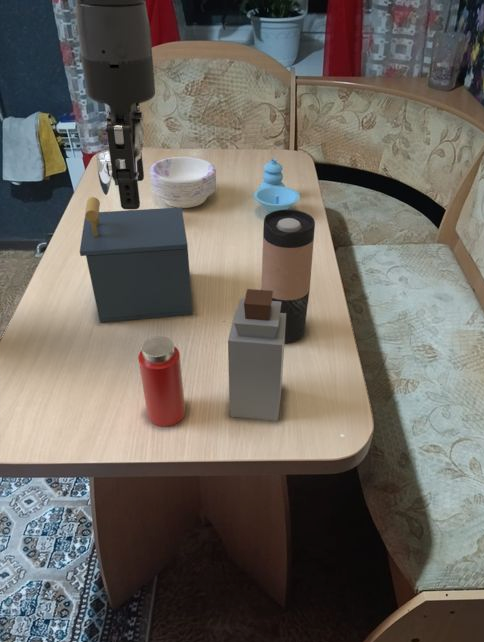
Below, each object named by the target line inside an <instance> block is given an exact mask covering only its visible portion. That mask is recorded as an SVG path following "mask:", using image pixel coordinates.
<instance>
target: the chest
mask: <svg viewBox="0 0 484 642" xmlns="http://www.w3.org/2000/svg"><path fill="white" fill-rule="evenodd" d="M85 257H86V263H87V267H88V272H89V277H90V282H91V286H92V291H93V296H94V301H95V305H96V310H97V311H96V312H97V316H98V319H99V323H100V324H102V323H103V324H105V323H114V322H125V321H137V320H147V319H158V318H159V319H160V318H168V317H181V316H192V315H193V300H192V299H193V298H192V287H191V274H190V260H189V248H188V249H174V250H160V251H146V252H131V253H117V254H103V255H89V256H85Z"/></svg>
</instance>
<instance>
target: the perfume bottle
mask: <svg viewBox="0 0 484 642" xmlns="http://www.w3.org/2000/svg"><path fill="white" fill-rule="evenodd" d="M272 295H273V291H267V290H261V289H254V288H252V289H251V288H247V289H246V293H245V296H244V298H239V301H238V304H237V308H236V309H235V311H234V314H233V318H232V322H231V326H230V331H229V335H228V338H227V362H228V396H229V397H228V400H229V401H228V403H229V417H231V418H239V419H240V418H241V419H251V420H261V421H274V422H275V421H276V422H278V421H279V418H280V417H279V416H280V409H281V398H282V391H283V389H282V388H283V377H284V376H283V374H284V359H285V356H284V355H285V344H286V343H285V326H286V313H280V309H281V302H279V301H272Z"/></svg>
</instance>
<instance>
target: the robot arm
mask: <svg viewBox="0 0 484 642" xmlns="http://www.w3.org/2000/svg"><path fill="white" fill-rule="evenodd" d="M75 10H76V28H77V36H78V42H79V49H80V57H81V62H82V63H81V64H82V68H83V75H84V81H85V88H86V94H87V96H88V98H90V99H91V100H92V101H93V102H96V103H98V104H105V105H106V106H108V107H109V109H110V110H108V111H107V117H105V133H106V135H107V143H108V144H107V145H108V150H109V153H110V159H111V167H112V177H113V180H118V187H119V195H120V202H121V207H122V208H123V209H134V210H139V209H140V205H141V199H140V191H139V190H140V189H139V183H138V182H142V181H143V180H144V178H145V173H144V161H143V153H142V151H143V148H144V143H143V142H144V140H145V130H144V113H143V110H142V111H141V108H140V104H143V103H146V102H149V101H150V100H152V99H153V98H154V97H155V94H156V85H155V73H154V61H153V60H154V59H153V49H152V46H153V45H152V36H151V26H150V20H149V16H148V10H147V3H146V0H75ZM121 160H125V167H126V169H120V161H121Z"/></svg>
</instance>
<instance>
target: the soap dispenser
mask: <svg viewBox="0 0 484 642" xmlns="http://www.w3.org/2000/svg"><path fill="white" fill-rule="evenodd" d="M263 171H264V172H263V173H262V179H263V181H262V182H261V184H259V186H258V189H257V190H255V191H254V193H253V198H254V199H255V200H256V202H258V203H259V204H260V205H261V206H262V207H263V208H264V209H265V210H266V211H267V212H268V214H269V213H271V212H274V211H278V210H289V209H290V208H291V207H292V206H293V205H295V204H296V203H297V202H298V201H299V200H300V198H301V195H300V193H299V192H298V191H297V190H295V189H293V188H290V187H287V186H286V185H285V184H284V182H282V181H283V179H284V175H283V173H282V172H283V166H282V164H281V163H280V162H277V159H276V158H270V159H269V162H267V163H265V164H264V166H263Z"/></svg>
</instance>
